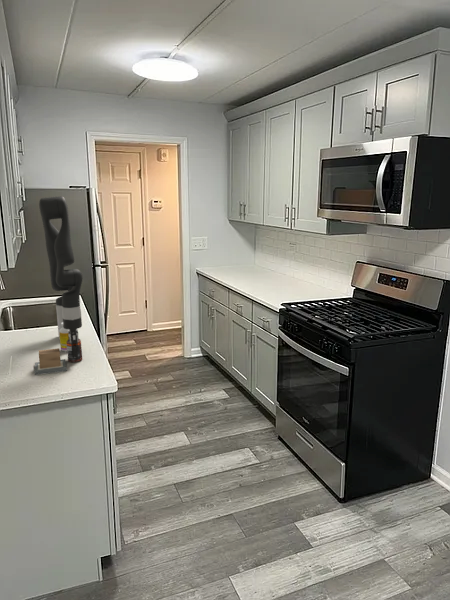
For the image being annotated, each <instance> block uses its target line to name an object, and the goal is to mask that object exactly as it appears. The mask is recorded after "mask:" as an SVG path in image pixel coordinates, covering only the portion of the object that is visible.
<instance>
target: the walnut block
mask: <svg viewBox="0 0 450 600" xmlns="http://www.w3.org/2000/svg"><path fill="white" fill-rule="evenodd" d="M61 360H62V359H61V348H60V347H59V348H48V349H40V350H38V362H39V364H40V369H42V368H50V367H59V366H61Z"/></svg>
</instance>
